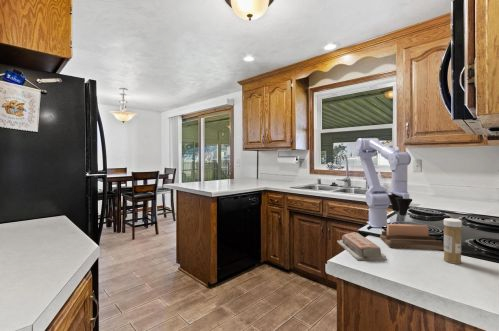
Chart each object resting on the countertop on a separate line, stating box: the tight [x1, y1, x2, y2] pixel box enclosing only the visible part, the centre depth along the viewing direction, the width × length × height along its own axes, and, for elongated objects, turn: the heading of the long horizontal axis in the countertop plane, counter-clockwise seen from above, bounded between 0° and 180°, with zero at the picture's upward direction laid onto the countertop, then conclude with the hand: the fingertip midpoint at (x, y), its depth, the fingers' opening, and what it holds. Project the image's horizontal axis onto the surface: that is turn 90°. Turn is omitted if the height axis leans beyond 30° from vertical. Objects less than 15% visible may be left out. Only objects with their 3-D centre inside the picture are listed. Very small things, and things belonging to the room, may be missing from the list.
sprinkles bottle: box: [443, 217, 463, 265], centre depth 81 cm, size 5×5×14 cm
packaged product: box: [336, 231, 387, 262], centre depth 92 cm, size 18×5×10 cm
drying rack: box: [379, 230, 444, 251], centre depth 97 cm, size 11×18×3 cm, turn 80°
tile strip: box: [386, 223, 429, 236], centre depth 100 cm, size 2×14×5 cm, turn 79°
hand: (399, 213), depth 107 cm, fingers open, 7 cm apart
